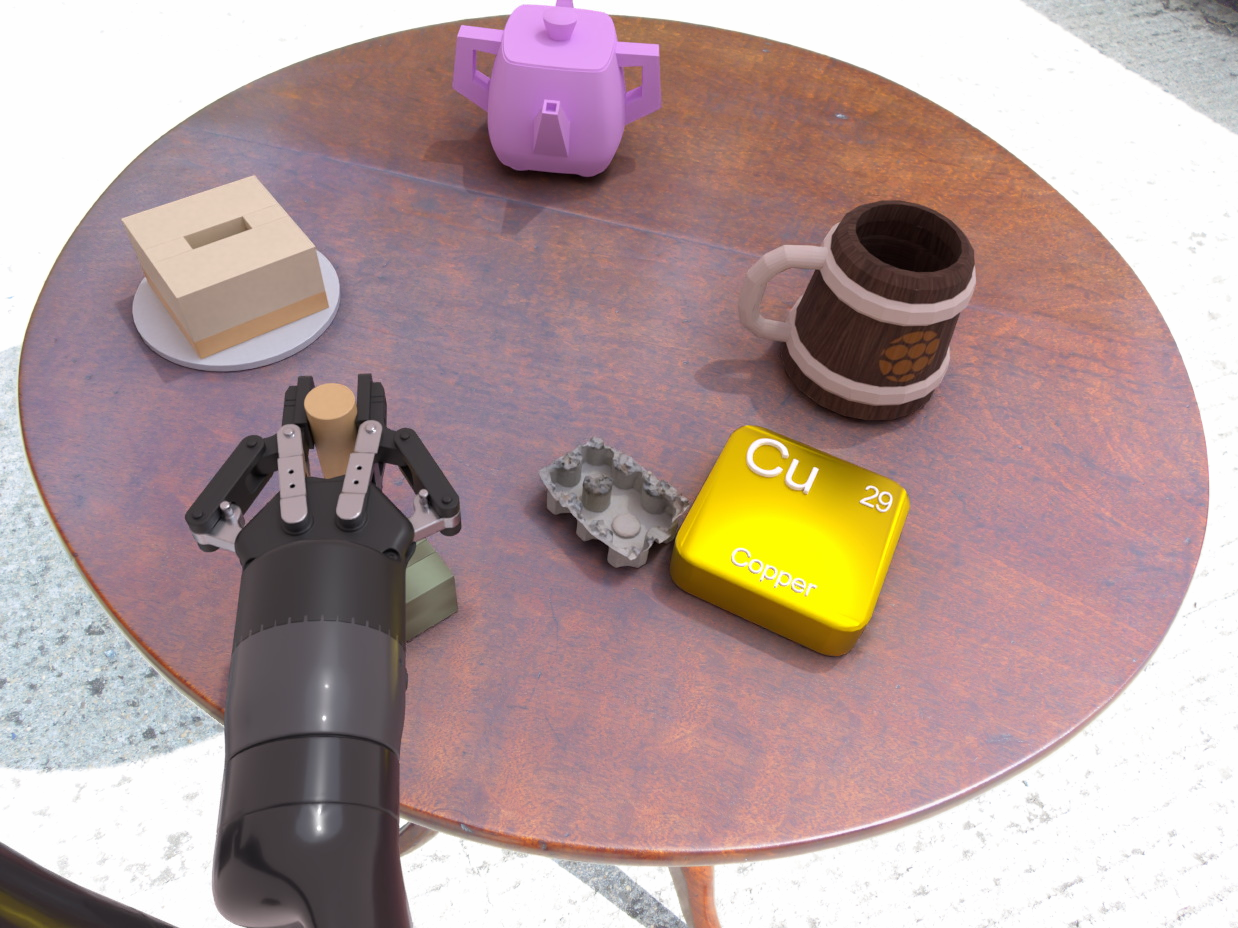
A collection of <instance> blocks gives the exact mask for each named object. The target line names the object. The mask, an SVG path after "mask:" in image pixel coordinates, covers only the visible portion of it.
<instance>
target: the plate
mask: <svg viewBox="0 0 1238 928" xmlns="http://www.w3.org/2000/svg"><path fill="white" fill-rule="evenodd" d="M316 251H317V255H318V260H319V264H320V269H321V273H322V278H323V282H324V287H325V291H326V295H327V300H328V304H329V308H326V309H324V310H321V311H319V312H316V313H314V314H312V315H309V316H307V317H304V318H302V319H299V320H297V321H294V322H292V323H289V324H287V325H284V326H282V327H280V328H277V329H275V330H272V331H270V332H267V333H265V334H262V335H260V336H257V337H255V338H252V339H250V340H248V341H245V342H243V343H240V344H238V345H235V346H233V347H230V348H228V349H225V350H223V351H221V352H218V353H216V354H213V355H211V356H208V357H206V358H203V359H200V358H199V356H198V355H197V353H196V352H195V350H194V349H193V347H192V346H191V344H190V343H189V341H188V340H187V339H186V337H185V336H184V334H183V333H182V331H181V330H180V328H179V327H178V325H177V324H176V323H175V321H174V320H173V318H172V317H171V315H170V314H169V312H168V311H167V309H166V308H165V306H164V305H163V304H162V302H161V301H160V299H159V298H158V296H157V295H156V293H155V292H154V290H153V289H152V288H151V286H150V285H149V283H148V282H147V280H146V277H145V276H144V277H143V278H142V280H141V281H140V283H139V285H138V287H137V289H136V291H135V293H134V297H133V301H132V318H133V322H134V325H135V327H136V330H137V332H138V335H139V336H140V338H141V340H143V341H144V344H145V345H147V346H148V347H149V348H150V349H151V351H153V352H154V353H156V354H157V355H159V356H160V357H161V358H163V359H165V360H167V361H169V362H171V363H173V364H176V365H179V366H181V367H183V368H184V367H185V368H190V369H193V370H197V371H198V370H199V371H206V372H222V373H223V372H224V373H225V372H239V371H246V370H252V369H253V370H254V369H257V368H261V367H264V366H265V367H266V366H268V365H272V364H275V363H277V362H280V361H283V360H285V359H288V358H290V357H292V356H294V355H295V354H297V353H299V352H301V351H303V350H305V349H306V348H308V347H309V346H310V345H311V344H313V343H314V342H315V341H316V340H318V339H319V338H320V337H321V336H322V335H323V334H324V333H325V332H326V330H327V329H328V328H329V327H330V325H331V324H332V322H333V321H334V319H335V318H336V317H337V313H338V311H339V308H340V304H341V299H342V298H341V295H342V291H341V284H340V279H339V276H338V274H337V271H336V269H335V267H334V266H333V264H332V262H331V261H330V260H329V259H328V258H327V257H326V256H325V255H324V254H323V253H322V252H321V251H319V250H318V249H317V248H316Z"/></svg>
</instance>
